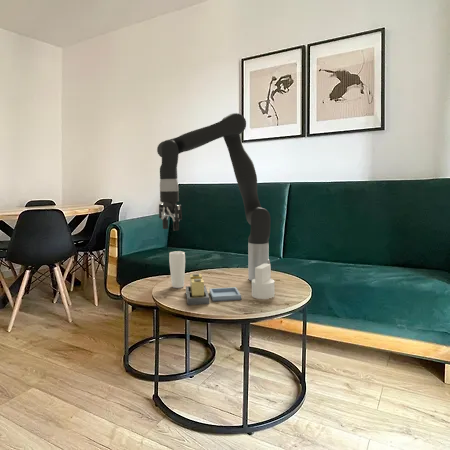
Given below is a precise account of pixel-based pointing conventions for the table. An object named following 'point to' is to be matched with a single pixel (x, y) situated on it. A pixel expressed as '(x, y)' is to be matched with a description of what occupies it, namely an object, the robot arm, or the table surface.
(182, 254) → the white tapered cylinder
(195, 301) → the frame
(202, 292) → the gold square peg
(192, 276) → the square peg
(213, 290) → the parts tray
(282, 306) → the table surface
